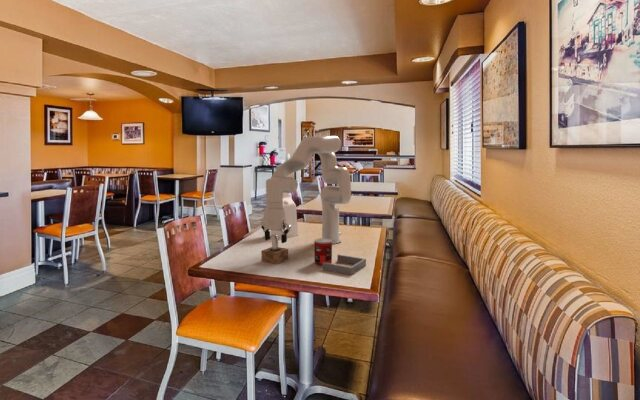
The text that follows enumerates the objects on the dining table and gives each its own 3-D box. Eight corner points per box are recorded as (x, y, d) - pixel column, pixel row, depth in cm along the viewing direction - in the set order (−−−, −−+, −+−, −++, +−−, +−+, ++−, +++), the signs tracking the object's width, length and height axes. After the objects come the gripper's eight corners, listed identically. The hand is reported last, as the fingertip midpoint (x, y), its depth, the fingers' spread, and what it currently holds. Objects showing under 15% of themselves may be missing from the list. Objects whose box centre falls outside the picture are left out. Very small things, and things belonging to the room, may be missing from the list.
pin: (274, 258, 176) (274, 234, 174) (279, 259, 175) (279, 234, 173) (270, 260, 174) (270, 235, 172) (275, 261, 172) (275, 236, 170)
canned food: (313, 261, 172) (313, 238, 171) (330, 260, 173) (330, 238, 172) (314, 266, 165) (314, 242, 163) (332, 266, 166) (332, 242, 164)
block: (273, 256, 180) (273, 246, 179) (288, 259, 176) (288, 248, 175) (261, 261, 172) (261, 250, 172) (277, 264, 168) (276, 253, 167)
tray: (338, 260, 173) (338, 254, 173) (365, 265, 166) (366, 259, 166) (322, 269, 161) (322, 262, 160) (351, 275, 154) (351, 268, 153)
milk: (286, 232, 232) (285, 191, 229) (297, 235, 224) (297, 193, 220) (270, 235, 224) (269, 192, 220) (281, 238, 216) (281, 194, 212)
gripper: (254, 205, 172) (256, 240, 174) (285, 207, 163) (286, 245, 166) (265, 202, 178) (266, 237, 181) (294, 205, 169) (295, 241, 172)
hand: (275, 241), depth 173 cm, fingers open, 9 cm apart
